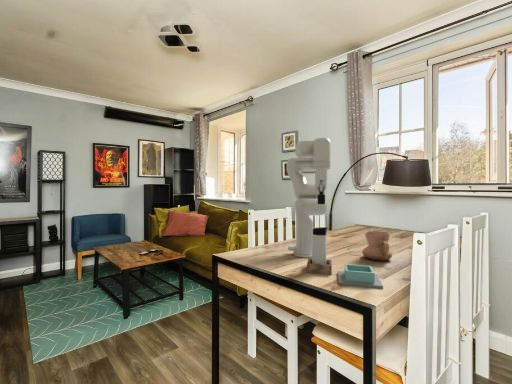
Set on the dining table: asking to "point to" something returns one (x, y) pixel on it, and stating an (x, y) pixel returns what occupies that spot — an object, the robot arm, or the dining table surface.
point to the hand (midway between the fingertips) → (321, 203)
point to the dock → (359, 276)
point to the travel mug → (319, 245)
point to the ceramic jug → (377, 246)
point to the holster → (319, 267)
